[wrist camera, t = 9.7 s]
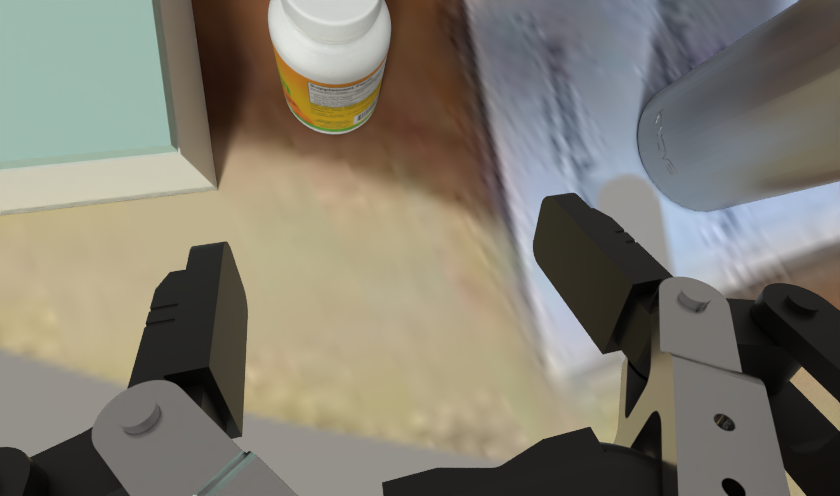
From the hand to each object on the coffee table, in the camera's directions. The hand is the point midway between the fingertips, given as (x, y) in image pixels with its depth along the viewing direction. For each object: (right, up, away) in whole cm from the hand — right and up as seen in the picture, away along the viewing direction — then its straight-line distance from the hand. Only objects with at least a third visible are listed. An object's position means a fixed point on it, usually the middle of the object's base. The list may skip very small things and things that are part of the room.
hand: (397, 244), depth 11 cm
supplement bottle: (-5, +9, +15) cm, 18 cm away
